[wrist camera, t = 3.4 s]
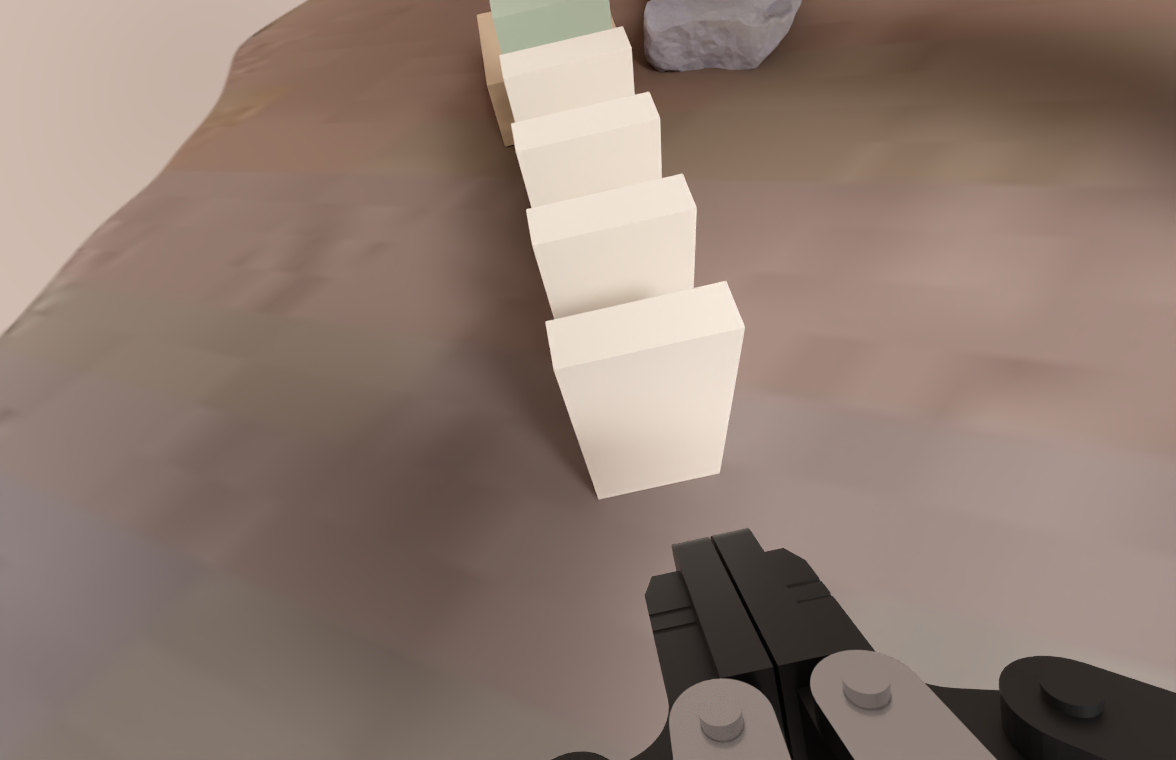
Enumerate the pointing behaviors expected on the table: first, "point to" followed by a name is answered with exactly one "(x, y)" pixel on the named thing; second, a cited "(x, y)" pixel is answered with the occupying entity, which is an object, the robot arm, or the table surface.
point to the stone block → (714, 32)
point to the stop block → (497, 75)
